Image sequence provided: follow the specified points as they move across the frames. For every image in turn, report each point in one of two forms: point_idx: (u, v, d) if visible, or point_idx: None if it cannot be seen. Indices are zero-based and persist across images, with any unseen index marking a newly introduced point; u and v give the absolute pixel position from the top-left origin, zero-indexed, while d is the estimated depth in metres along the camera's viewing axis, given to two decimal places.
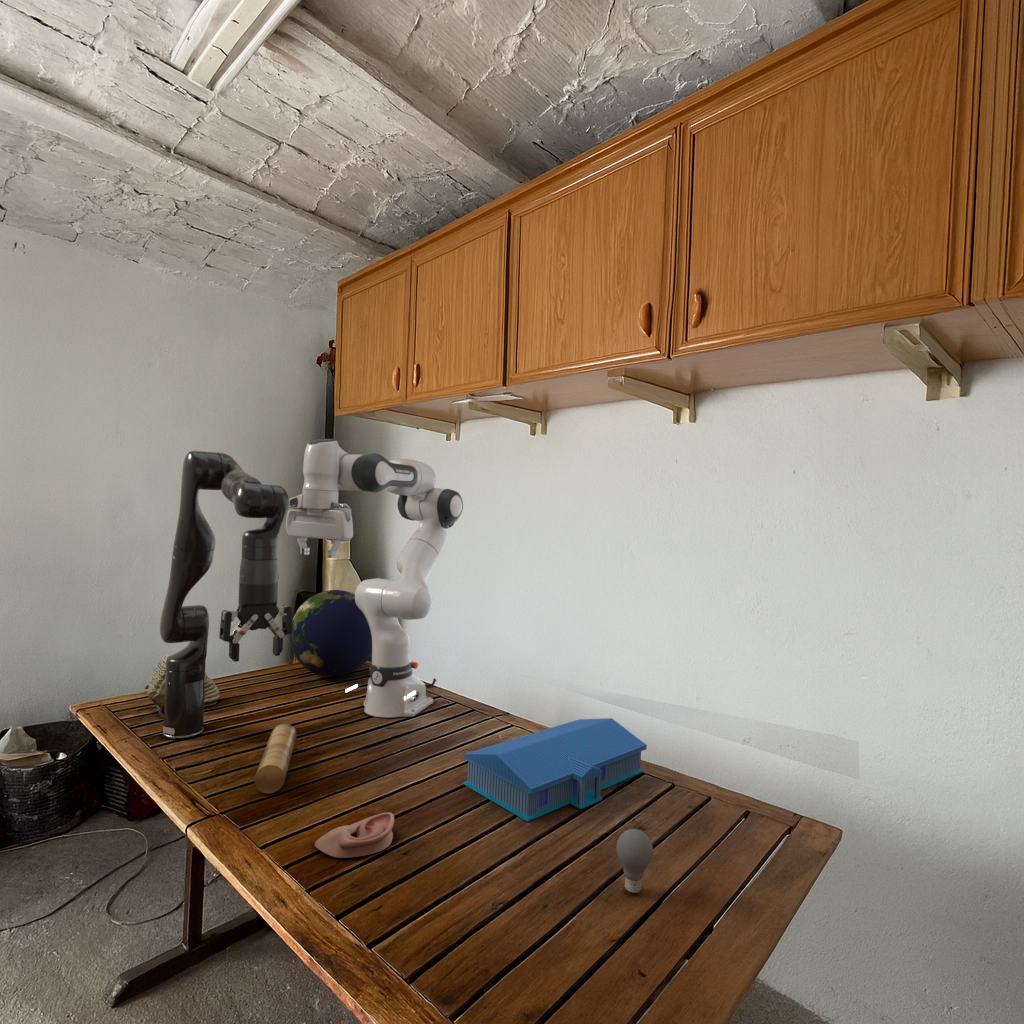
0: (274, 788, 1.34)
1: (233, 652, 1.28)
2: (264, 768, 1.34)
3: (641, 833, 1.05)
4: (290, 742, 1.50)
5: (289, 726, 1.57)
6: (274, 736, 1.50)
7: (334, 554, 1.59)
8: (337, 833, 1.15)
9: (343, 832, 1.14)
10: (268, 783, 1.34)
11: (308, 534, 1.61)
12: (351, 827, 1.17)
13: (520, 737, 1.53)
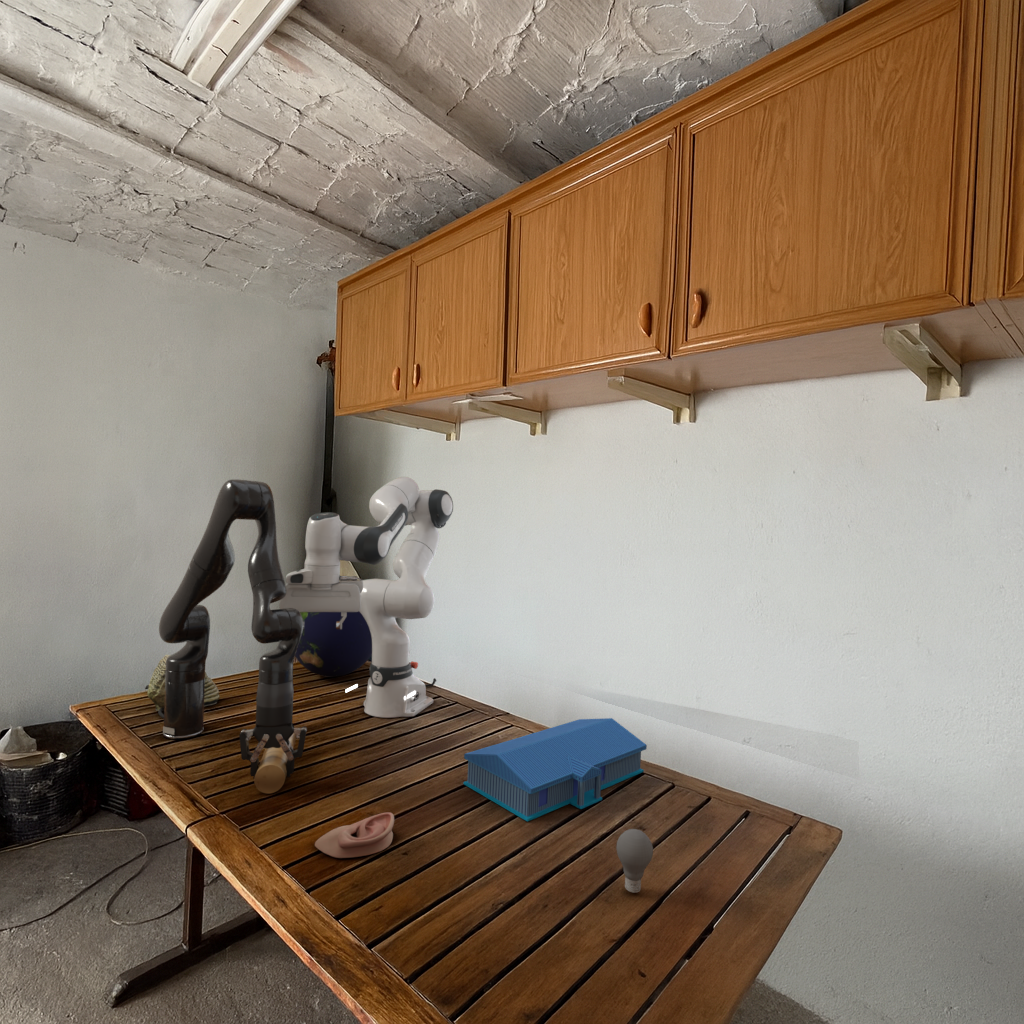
0: (274, 788, 1.34)
1: (252, 770, 1.37)
2: (264, 768, 1.34)
3: (641, 833, 1.05)
4: (290, 742, 1.50)
5: None
6: None
7: None
8: (337, 833, 1.15)
9: (343, 832, 1.14)
10: (268, 783, 1.34)
11: (313, 608, 1.61)
12: (351, 827, 1.17)
13: (520, 737, 1.53)
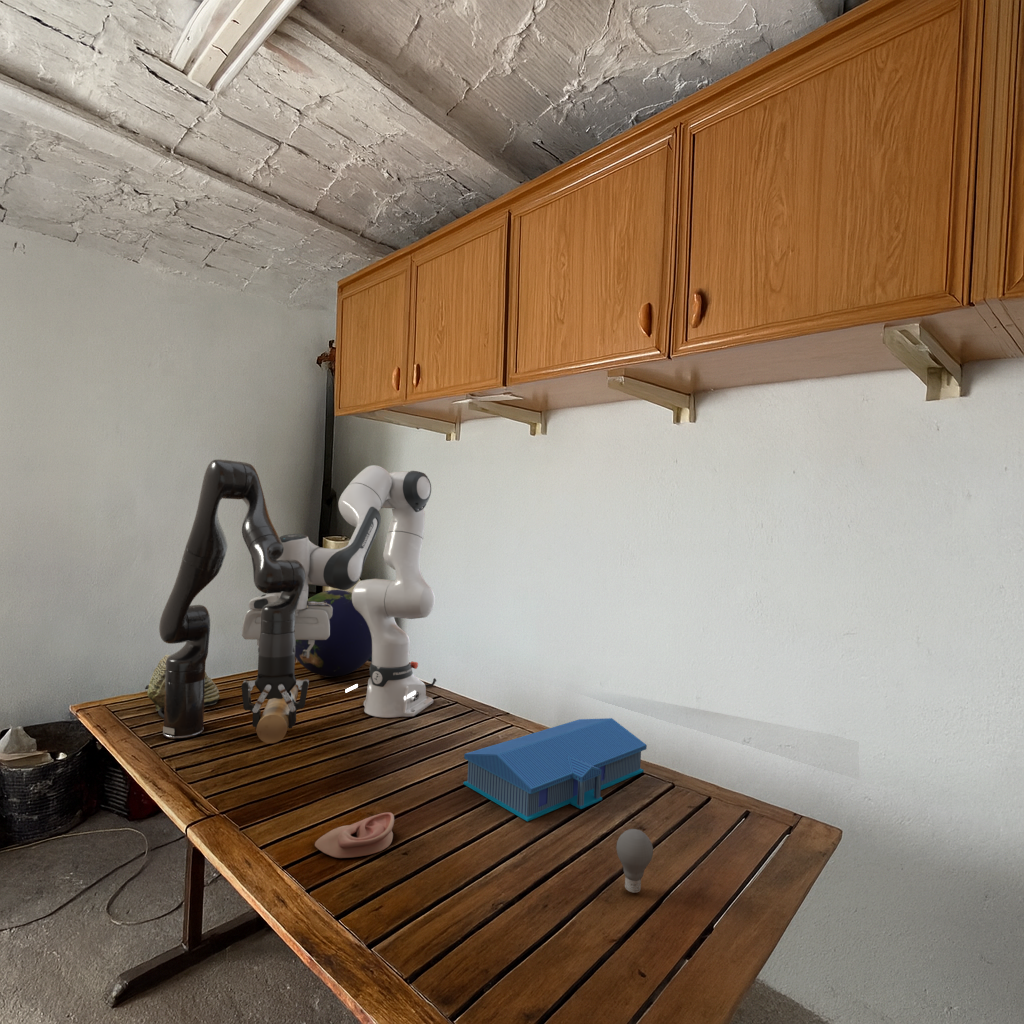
0: (276, 738, 1.34)
1: (254, 720, 1.37)
2: (267, 718, 1.34)
3: (641, 833, 1.05)
4: None
5: None
6: None
7: None
8: (337, 833, 1.15)
9: (343, 832, 1.14)
10: (270, 733, 1.34)
11: None
12: (351, 827, 1.17)
13: (520, 737, 1.53)
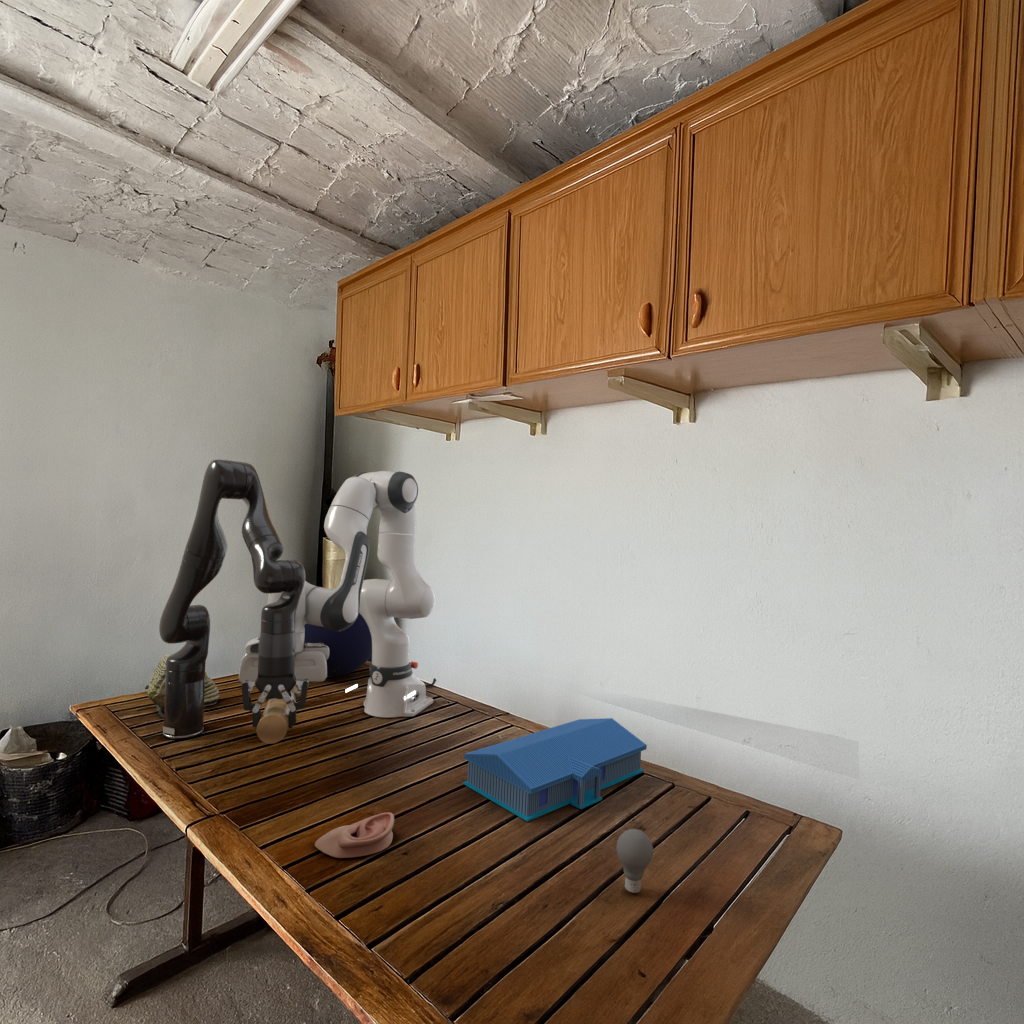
0: (276, 738, 1.34)
1: (254, 721, 1.37)
2: (267, 718, 1.34)
3: (641, 833, 1.05)
4: None
5: None
6: None
7: None
8: (337, 833, 1.15)
9: (343, 832, 1.14)
10: (270, 733, 1.34)
11: None
12: (351, 827, 1.17)
13: (520, 737, 1.53)
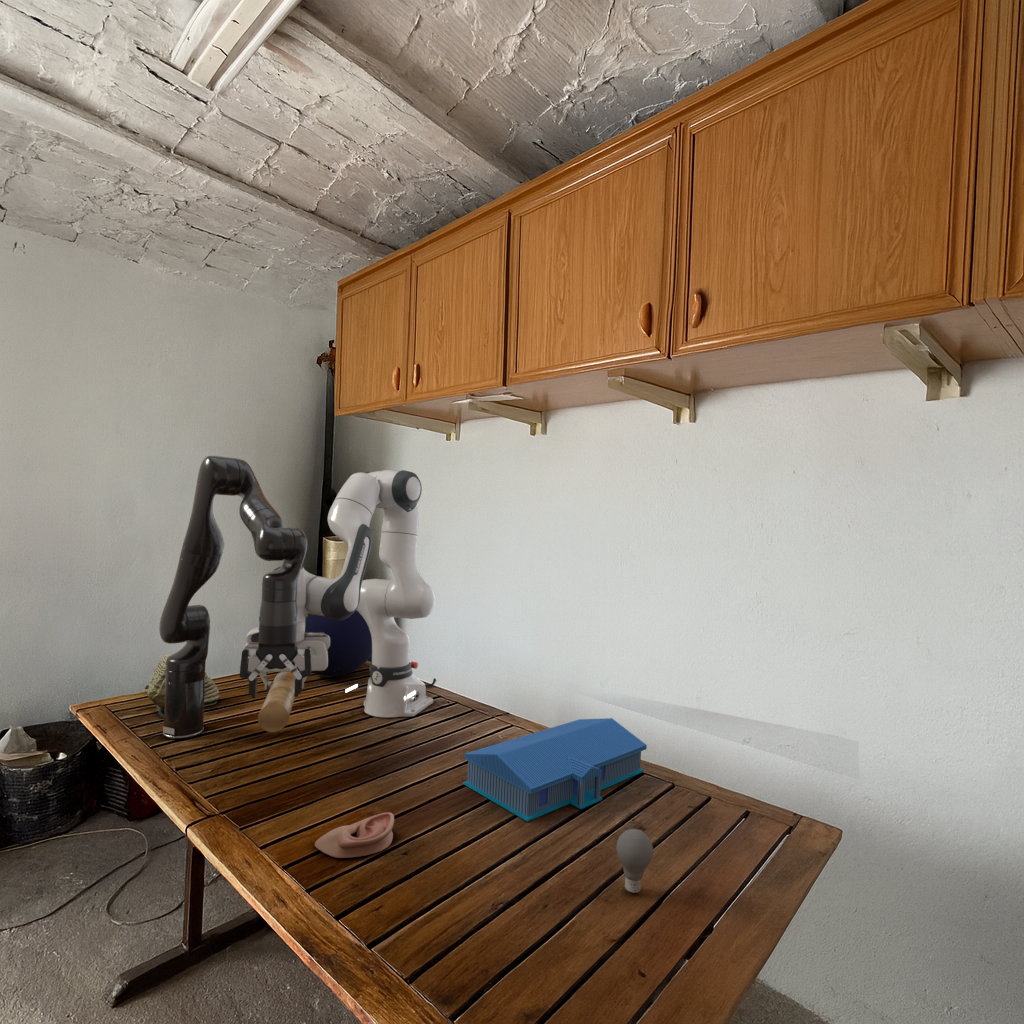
0: (278, 727, 1.34)
1: (250, 689, 1.33)
2: (268, 707, 1.34)
3: (641, 833, 1.05)
4: (293, 686, 1.50)
5: None
6: (277, 681, 1.50)
7: (303, 684, 1.55)
8: (337, 833, 1.15)
9: (343, 832, 1.14)
10: (272, 722, 1.34)
11: (276, 668, 1.52)
12: (351, 827, 1.17)
13: (520, 737, 1.53)
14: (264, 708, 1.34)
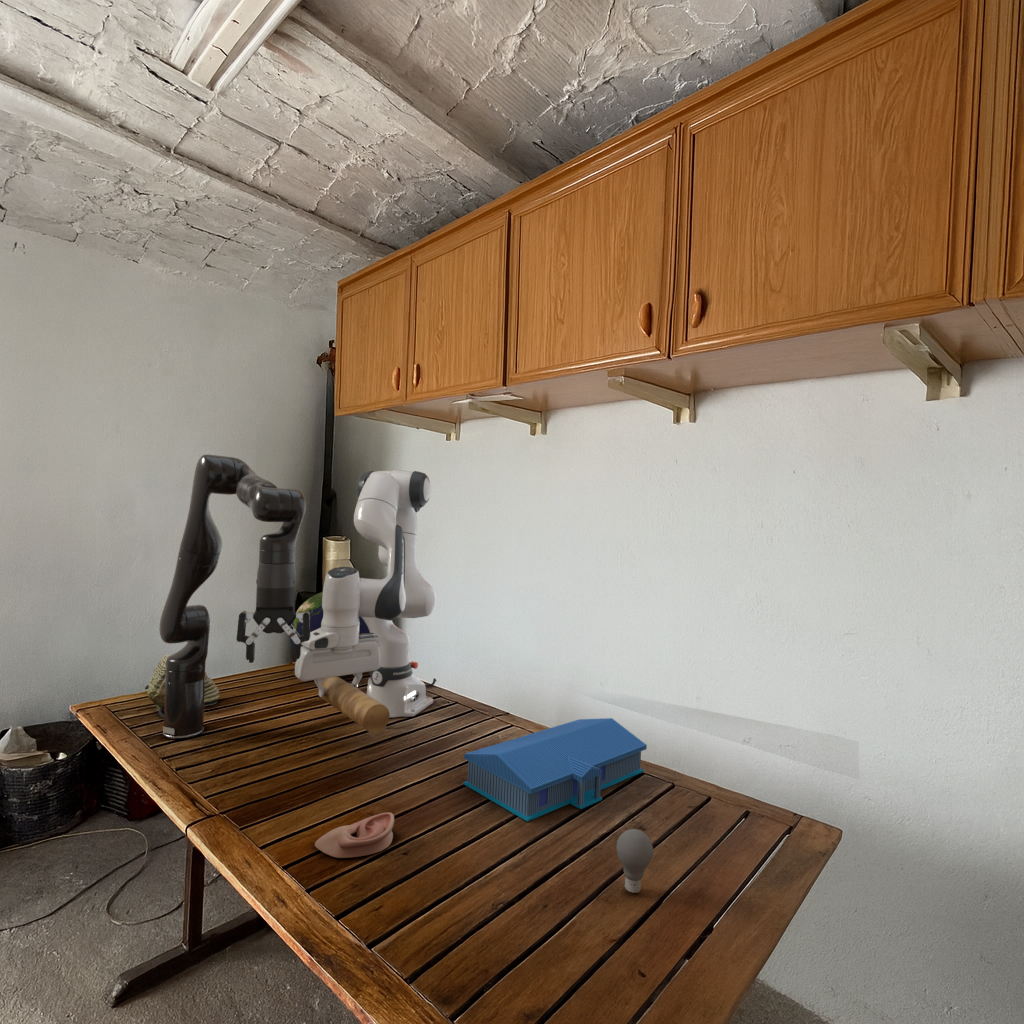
0: (380, 727, 1.36)
1: (247, 653, 1.30)
2: (372, 708, 1.35)
3: (641, 833, 1.05)
4: None
5: (338, 677, 1.54)
6: (338, 685, 1.48)
7: None
8: (337, 833, 1.15)
9: (343, 832, 1.14)
10: (375, 723, 1.35)
11: (334, 673, 1.48)
12: (351, 827, 1.17)
13: (520, 737, 1.53)
14: (369, 710, 1.34)
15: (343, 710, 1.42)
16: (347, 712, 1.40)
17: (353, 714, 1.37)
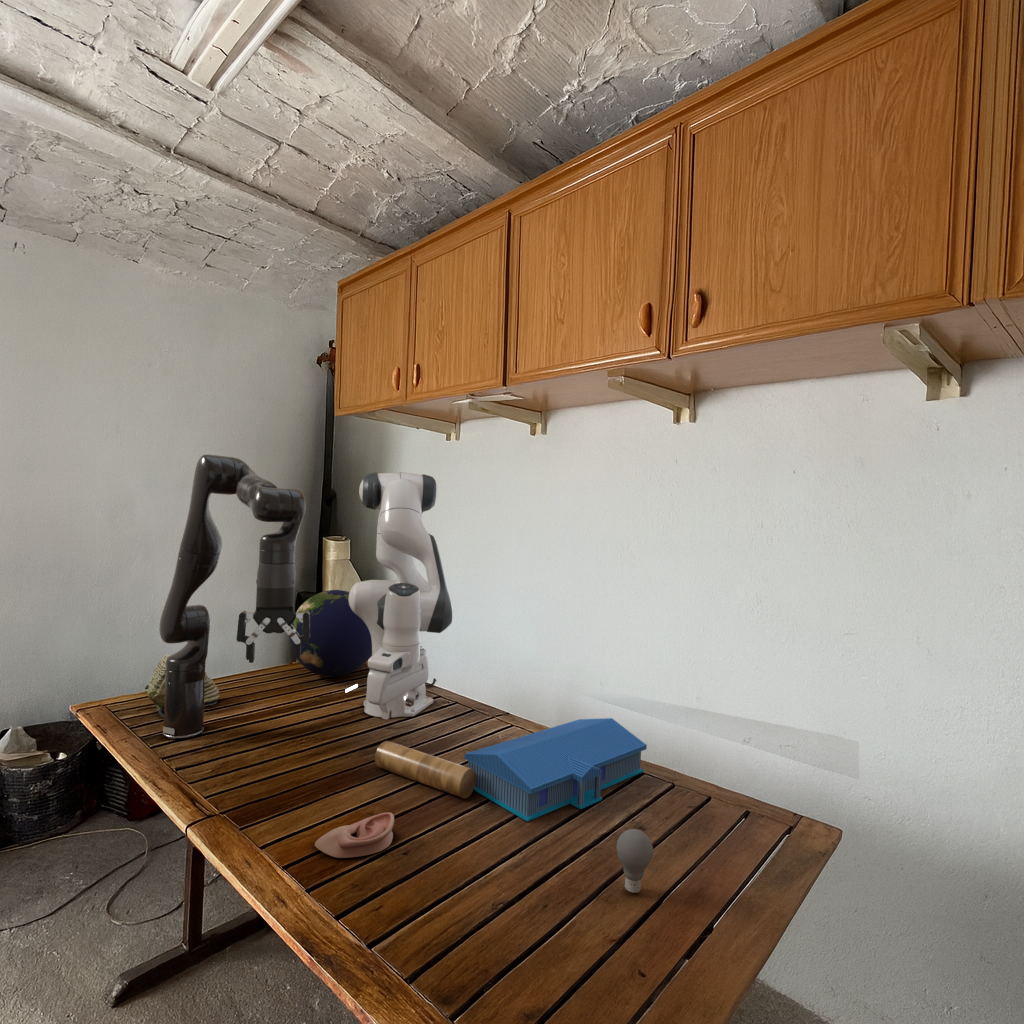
0: (472, 788, 1.38)
1: (247, 653, 1.30)
2: (463, 778, 1.35)
3: (641, 833, 1.05)
4: None
5: (389, 742, 1.49)
6: (402, 756, 1.44)
7: None
8: (337, 833, 1.15)
9: (343, 832, 1.14)
10: (468, 787, 1.36)
11: (401, 692, 1.46)
12: (351, 827, 1.17)
13: (520, 737, 1.53)
14: (461, 781, 1.34)
15: (423, 782, 1.40)
16: (430, 784, 1.38)
17: (441, 786, 1.37)
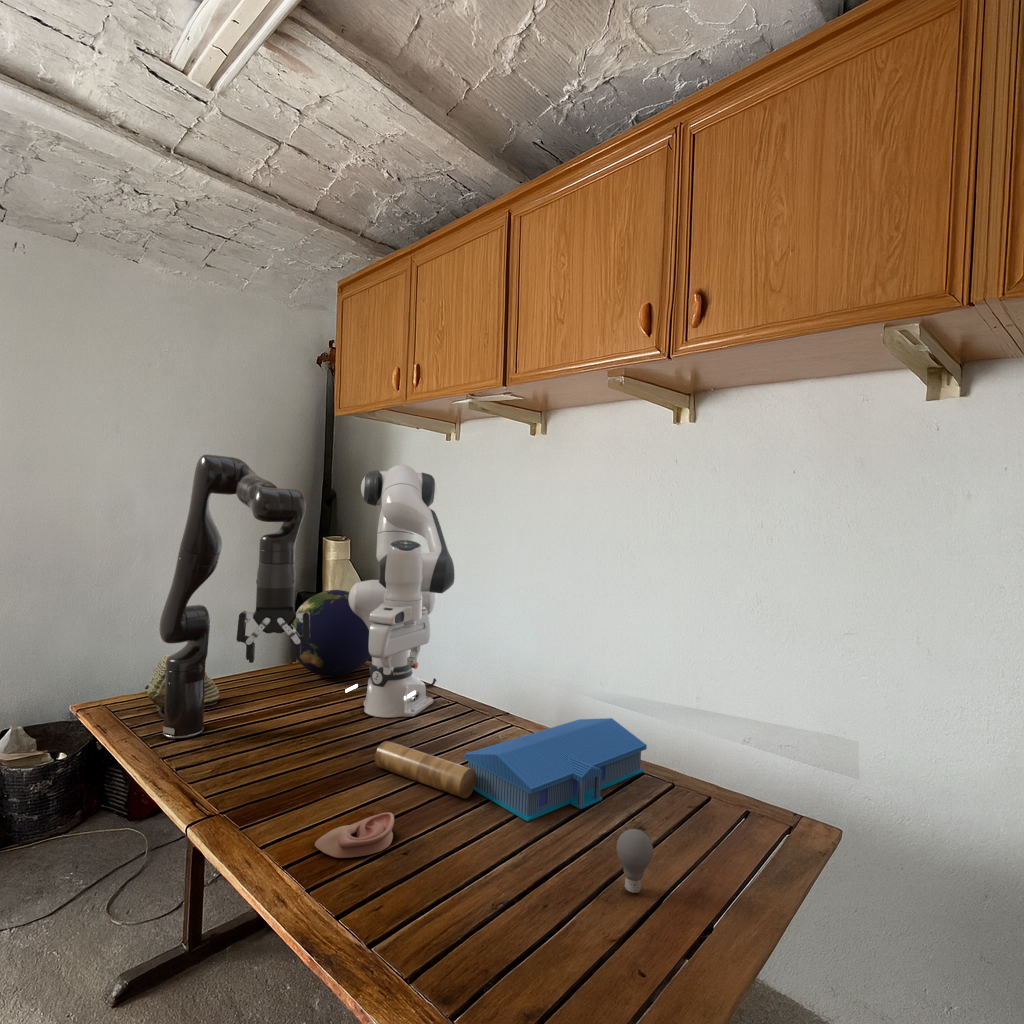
0: (472, 788, 1.38)
1: (247, 653, 1.30)
2: (463, 778, 1.35)
3: (641, 833, 1.05)
4: None
5: (389, 742, 1.49)
6: (402, 756, 1.44)
7: None
8: (337, 833, 1.15)
9: (343, 832, 1.14)
10: (468, 787, 1.36)
11: (403, 648, 1.46)
12: (351, 827, 1.17)
13: (520, 737, 1.53)
14: (461, 781, 1.34)
15: (423, 782, 1.40)
16: (430, 784, 1.38)
17: (441, 786, 1.37)
